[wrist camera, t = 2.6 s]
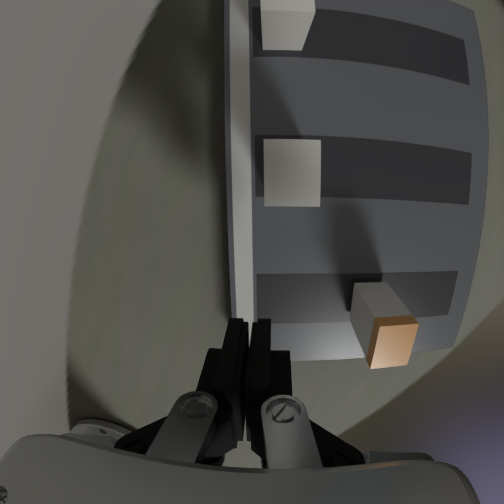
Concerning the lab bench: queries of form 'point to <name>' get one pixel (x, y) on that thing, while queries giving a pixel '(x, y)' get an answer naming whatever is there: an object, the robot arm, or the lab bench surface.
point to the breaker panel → (352, 164)
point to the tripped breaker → (382, 325)
